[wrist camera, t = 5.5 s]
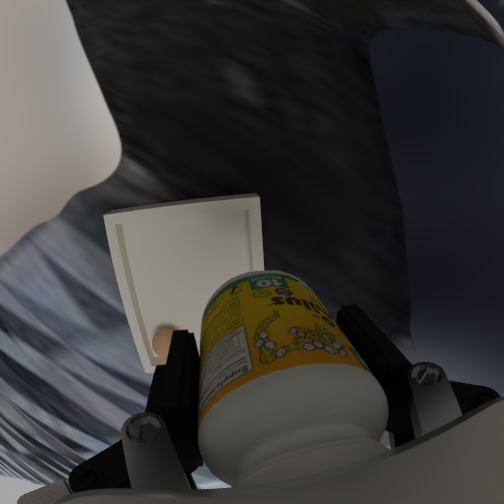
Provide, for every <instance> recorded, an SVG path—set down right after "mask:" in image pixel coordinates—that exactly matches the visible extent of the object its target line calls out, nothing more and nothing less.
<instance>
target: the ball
mask: <svg viewBox="0 0 504 504" xmlns="http://www.w3.org/2000/svg"><path fill="white" fill-rule="evenodd" d="M173 331H174V330H171V329H162V330H159V331H158V332H157V333H156V334H155V335H154V337H153V339H152V347H153V350H154V351H155V353H156V354H157V355H158V356H160V357H162V358H165V359H167V356H168V351H169V347H170V342H171V337H172V333H173Z"/></svg>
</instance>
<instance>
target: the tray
mask: <svg viewBox="0 0 504 504" xmlns="http://www.w3.org/2000/svg"><path fill="white" fill-rule="evenodd" d="M104 221H105V227H106V232H107V237H108V242H109V247H110V252H111V257H112V261H113V266H114V270H115V274H116V278H117V282H118V286H119V290H120V294H121V298H122V301H123V305H124V308H125V312H126V315H127V319H128V322H129V325H130V329H131V332H132V335H133V338H134V341H135V344H136V347H137V350H138V353H139V356H140V359H141V362H142V364H143V367H144V370H145V372H146V373H154V371H155V368H156V366H157V365H163V364H166V361H167V359H165V358H162V357H160V356H158V355H157V354H156V353H155V351H154V350H153V347H152V339H153V337H154V335H155V334H156V333H157V332H158V331H159V330H162V329H171V330H185V329H188V331H189V333H192V332H193V333H194V335H195V339H196V344H197V348H198V352H199V356H200V332H201V322H202V317H203V312H204V310H205V307H206V305H207V303H208V301H209V299H210V298H211V297H212V295H213V294H214V293H215V291H216V290H217V289H218V288H219V287H220V286H221V285H223V284H224V283H225V282H226V281H228V280H230V279H231V278H233V277H236V276H238V275H241V274H243V273H247V272H252V271H264V260H263V243H262V226H261V210H260V197H259V196H258V195H257V194H256V193H252V194H240V195H229V196H219V197H209V198H200V199H190V200H182V201H173V202H165V203H158V204H150V205H143V206H136V207H129V208H122V209H115V210H112V211H110V212H108V213H106V214H105V215H104Z"/></svg>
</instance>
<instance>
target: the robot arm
mask: <svg viewBox="0 0 504 504" xmlns="http://www.w3.org/2000/svg"><path fill="white" fill-rule="evenodd" d="M336 324H337V325H338V326H339V328H340V329H341V330H342V332H343V333H344V335H345V336H346V337H347V339H348V340H349V341H350V342H351V344H352V345H353V347H354V348H355V349H356V351H357V352H358V354H359V355H360V356H361V358H362V359H363V361H364V362H365V363H366V365H367V366H368V368H369V369H370V371H371V372H372V373H373V375H374V376H375V378H376V379H377V381H378V382H379V384H380V385H381V387H382V389H383V390H384V393H385V395H386V398H387V402H388V412H389V414H388V422H387V426H386V429H385V431H388V432H389V441H390V450H388V451H386V452H383V453H380V454H378V455H375V456H372V457H369V458H366V459H364V460H361V461H358V462H354V463H351V464H348V465H345V466H341V467H338V468H334V469H331V470H327V471H323V472H319V473H315V474H311V475H307V476H302V477H298V478H293V479H288V480H282V481H277V482H271V483H264V484H257V485H250V486H241V487H231V488H218V489H198V488H197V486H196V484H195V481H194V479H193V477H192V474H191V473H192V472H194V471H195V470H196V469H197V467H200V466H203V459H202V456H201V454H200V450H199V445H198V387H199V361H200V356H199V352H198V348H197V344H196V339H195V335H194V333H193V332H192V333H189V331H188V329H185V330H174V331H173V333H172V337H171V342H170V347H169V351H168V356H167V361H166V364H163V365H157V366H156V368H155V371H154V376H153V380H152V384H151V388H150V393H149V397H148V402H147V406H146V411H145V412H144V413H138V414H135V415H133V416H131V417H130V418H128V419H127V420H126V421H125V422H124V423H123V425H122V428H121V437H122V439H121V440H120V441H118V442H117V443H115V444H113V445H112V446H110V447H108V448H107V449H105V450H103V451H102V452H100V453H98V454H97V455H95V456H93V457H92V458H90V459H88V460H86V461H85V462H83V463H81V464H79V465H78V466H76V467H75V468H74V469H73V470H72V471H71V473H70V475H69V479H68V480H66V481H64V480H63V479H60V480H58V481H55V482H53V483H51V484H49V485H46V486H44V487H41V488H39V489H37V490H34V491H31V492H29V493H27V494H24V495H22V496H21V497H20V498H19V499H18V501H17V504H504V393H501V394H500V396H499V394H498V393H497V392H496V391H495V390H493V389H491V388H489V387H485V386H479V385H472V384H466V383H461V382H454V381H449V380H448V378H447V376H446V373H445V372H444V370H443V369H442V368H441V367H440V366H438V365H437V364H434V363H430V362H419V363H416V364H414V365H412V364H411V363H410V362H409V361H408V359H407V358H406V357H405V356H404V355H403V354H402V353H401V352H400V350H399V349H398V348H397V347H396V346H395V345H394V344H393V343H392V342H391V340H390V339H389V338H388V337H387V336H386V335H385V334H384V333H383V332H382V331H381V330H380V329H379V328H378V327H377V326H376V325H375V324H374V323H373V322H372V321H371V320H370V318H369V317H368V316H367V315H366V314H365V313H364V312H363V311H362V310H361V309H360V308H359V307H358V306H357V305H356V304H352V305H347V306H342V307H341V310H340V311H338V312H337V322H336Z"/></svg>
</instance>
